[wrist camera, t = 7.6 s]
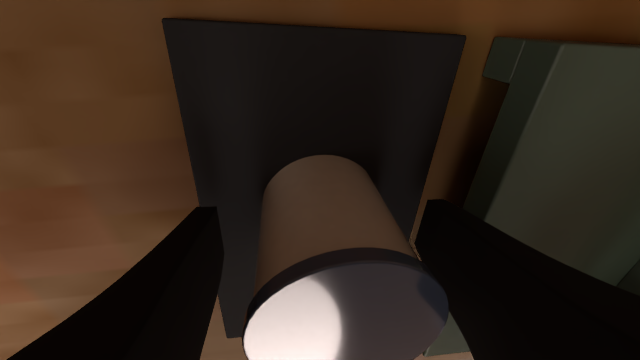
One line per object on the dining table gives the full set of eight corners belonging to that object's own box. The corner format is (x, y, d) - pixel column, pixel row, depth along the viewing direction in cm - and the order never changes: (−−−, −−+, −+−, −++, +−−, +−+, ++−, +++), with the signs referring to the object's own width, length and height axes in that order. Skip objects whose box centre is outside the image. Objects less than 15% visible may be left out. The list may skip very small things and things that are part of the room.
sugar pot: (370, 248, 12) (421, 376, 8) (261, 254, 11) (250, 398, 7) (390, 149, 10) (479, 254, 5) (252, 150, 9) (229, 270, 5)
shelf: (542, 298, 17) (619, 381, 13) (403, 311, 16) (444, 406, 12) (718, 49, 10) (994, 68, 6) (494, 36, 9) (664, 50, 5)
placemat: (381, 313, 16) (385, 323, 15) (228, 327, 14) (226, 339, 14) (456, 34, 9) (467, 35, 8) (168, 17, 7) (160, 18, 7)
